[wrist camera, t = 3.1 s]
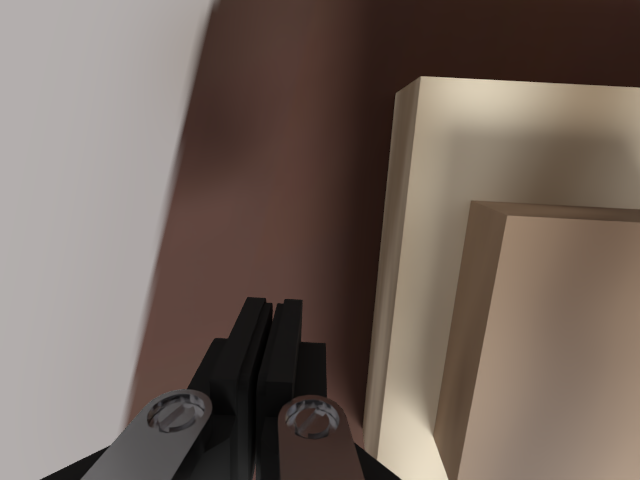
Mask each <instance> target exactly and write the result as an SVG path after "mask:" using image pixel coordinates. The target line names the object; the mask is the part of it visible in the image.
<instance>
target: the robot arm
mask: <svg viewBox="0 0 640 480" xmlns="http://www.w3.org/2000/svg"><path fill="white" fill-rule="evenodd" d="M272 314H273V305H272V303H266V298H253V297H247V299H246V301H245V303H244V306H243V308H242V310H241V312H240V314H239V316H238V318H237V321H236V323H235V325H234V327H233V329H232V331H231V333H230V336H229V338H228V339H225V338H215V339H214V340H213V342H212V343H211V345H210V347H209V349H208V351H207V353H206V355H205V356H204V358H203V360H202V362H201V364H200V366H199V368H198V369H197V371H196V373H195V375H194V377H193V379H192V381H191V383H190V384H189V386H188V388H187V389H181V390H175V391H171V392H168V393H165V394H162V395H160V396H158V397H157V398H155V399H153V400H152V401H151V402H149V403H148V404H147V405H146V406H145V407H144V408H143V409H142V410H141V411H140V413H139V414H138V415H137V416H136V417H135V418H134V419H133V421H132V422H131V423H130V424H129V425H128V426H127V427H126V428H125V430H124V431H123V432H122V433H121V434H120V435H119V436H118V438H117V439H116V440H115V441H114V442H113V443H112V444H111V445H110V446H108V447H106V448H104V449H102V450H100V451H98V452H96V453H94V454H92V455H90V456H88V457H86V458H83V459H81V460H79V461H77V462H75V463H73V464H71V465H69V466H67V467H65V468H63V469H61V470H59V471H57V472H55V473H53V474H51V475H49V476H47V477H45V478H43V479H41V480H252V479H253V474H254V469H255V464H256V480H402V479H401V478H399V477H398V476H397V475H395V474H394V473H393V472H392V471H390V470H389V469H388V468H386V467H385V466H384V465H383V464H381V463H380V462H379V461H377V460H376V459H375V458H374V457H372V456H371V455H370V454H368V453H367V452H366V451H365V450H363V449H362V448H361V447H359V446H358V445H357V444H356V443H354V441H353V438H352V434H351V431H350V428H349V424H348V421H347V417H346V415H345V413H344V411H343V409H342V408H341V407H340V406H339V405H338V404H337V403H336V402H334V401H332V400H331V399H329V398H327V384H326V344H325V343H309V342H301V327H302V300H295V299H285V300H284V304H280V303H278V304H277V307H276V311H275V315H274V318H273V322H272Z"/></svg>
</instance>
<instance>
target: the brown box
mask: <svg viewBox="0 0 640 480" xmlns="http://www.w3.org/2000/svg"><path fill="white" fill-rule="evenodd" d="M433 438H434V441H435V444H436V446H437V449H438V452H439V455H440V458H441V460H442V463H443V466H444V469H445V472H446V474H447V477H448V480H640V209H623V208H605V207H586V206H567V205H549V204H530V203H512V202H493V201H474V200H471V203H470V209H469V216H468V222H467V228H466V234H465V241H464V247H463V253H462V259H461V265H460V272H459V278H458V284H457V290H456V296H455V303H454V309H453V315H452V321H451V328H450V334H449V340H448V346H447V352H446V359H445V365H444V371H443V377H442V383H441V390H440V396H439V402H438V408H437V415H436V421H435V427H434V433H433Z"/></svg>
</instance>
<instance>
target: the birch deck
mask: <svg viewBox="0 0 640 480" xmlns="http://www.w3.org/2000/svg"><path fill="white" fill-rule="evenodd" d="M471 200H474V201H493V202H512V203H530V204H549V205H567V206H586V207H605V208H623V209H640V88H636V87H617V86H598V85H579V84H560V83H541V82H522V81H503V80H484V79H465V78H446V77H427V76H421V77H419V78H418V79H416V80H415V81H413V82H412V83H410V84H409V85H407V86H406V87H404V88H403V89H401V90H400V91H398V92H397V93H396V96H395V106H394V116H393V126H392V136H391V147H390V157H389V167H388V177H387V187H386V197H385V207H384V217H383V227H382V238H381V248H380V258H379V268H378V278H377V288H376V298H375V308H374V318H373V329H372V339H371V349H370V359H369V369H368V379H367V389H366V399H365V409H364V420H363V438H364V446H365V451H366V452H367V453H368V454H370V455H371V456H372V457H374V458H375V459H376V460H377V461H379V462H380V463H381V464H383V465H384V466H385V467H386V468H388V469H389V470H390V471H392V472H393V473H394V474H395V475H397V476H398V477H399V478H401V479H402V480H448V477H447V474H446V472H445V469H444V466H443V463H442V460H441V458H440V455H439V452H438V449H437V446H436V444H435V441H434V438H433V433H434V427H435V421H436V415H437V408H438V402H439V396H440V390H441V383H442V377H443V371H444V365H445V359H446V352H447V346H448V340H449V334H450V328H451V321H452V315H453V309H454V303H455V296H456V290H457V284H458V278H459V272H460V265H461V259H462V253H463V247H464V241H465V234H466V228H467V222H468V216H469V209H470V203H471Z"/></svg>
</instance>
